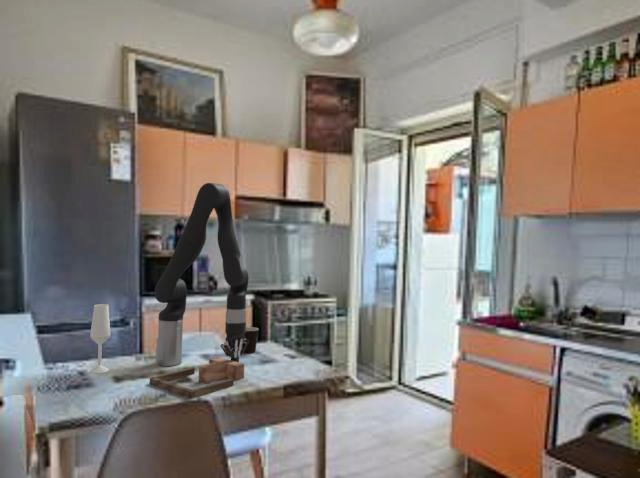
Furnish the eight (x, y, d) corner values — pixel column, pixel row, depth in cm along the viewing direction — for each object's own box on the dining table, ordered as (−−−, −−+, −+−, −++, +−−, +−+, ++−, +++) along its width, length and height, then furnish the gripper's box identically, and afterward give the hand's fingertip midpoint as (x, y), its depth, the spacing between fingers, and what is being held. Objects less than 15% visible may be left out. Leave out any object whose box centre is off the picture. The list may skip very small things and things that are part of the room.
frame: (149, 383, 156) (149, 377, 156) (191, 372, 170) (192, 367, 170) (191, 398, 143) (191, 392, 143) (233, 385, 157) (233, 379, 157)
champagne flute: (100, 367, 174) (102, 303, 174) (113, 369, 171) (115, 304, 171) (84, 371, 168) (86, 305, 168) (97, 374, 165) (99, 306, 165)
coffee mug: (254, 354, 200) (254, 331, 200) (235, 353, 201) (236, 330, 202) (262, 348, 211) (263, 326, 211) (244, 347, 213) (245, 325, 213)
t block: (189, 378, 164) (189, 363, 164) (217, 370, 174) (217, 357, 174) (216, 386, 156) (216, 371, 156) (243, 377, 166) (244, 363, 166)
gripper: (241, 317, 180) (240, 361, 180) (215, 321, 169) (214, 369, 169) (255, 319, 175) (254, 365, 175) (229, 324, 165) (228, 372, 165)
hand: (234, 367), depth 172 cm, fingers closed
